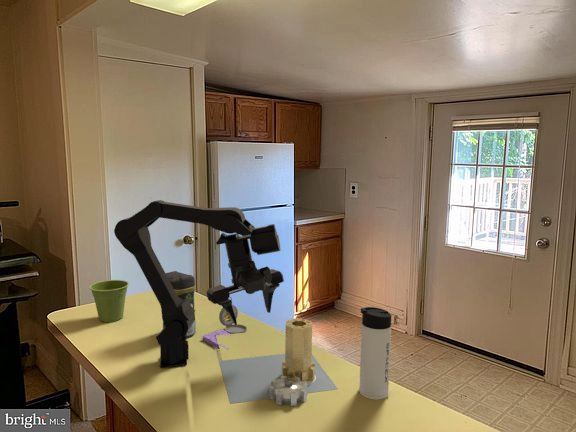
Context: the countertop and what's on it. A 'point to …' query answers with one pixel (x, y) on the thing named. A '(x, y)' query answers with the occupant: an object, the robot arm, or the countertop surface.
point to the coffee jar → (184, 291)
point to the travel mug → (375, 353)
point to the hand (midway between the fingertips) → (252, 318)
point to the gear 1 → (298, 350)
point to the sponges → (213, 340)
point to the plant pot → (110, 299)
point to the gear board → (263, 377)
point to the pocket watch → (231, 322)
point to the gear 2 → (288, 391)
